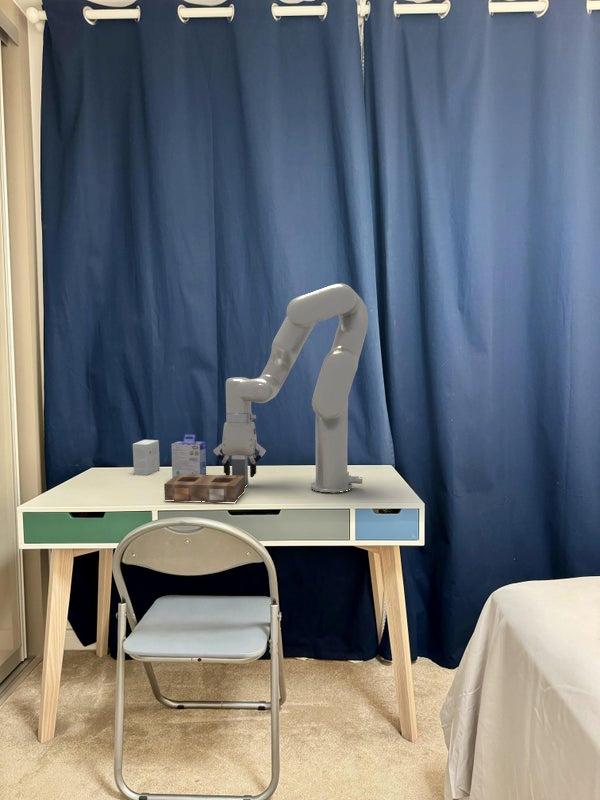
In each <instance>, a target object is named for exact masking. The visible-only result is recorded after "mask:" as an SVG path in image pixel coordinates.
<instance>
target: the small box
mask: <svg viewBox="0 0 600 800" xmlns="http://www.w3.org/2000/svg"><path fill="white" fill-rule="evenodd" d="M159 442H160V441H159V439H156V440H155V439H142V440H139V441H137V442H135V443H132V455H133V475H138V476H139V475H140V476H149V475H151V474H154V473H156V472H158V471H160V466H161V465H160V463H161V462H160V443H159Z"/></svg>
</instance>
